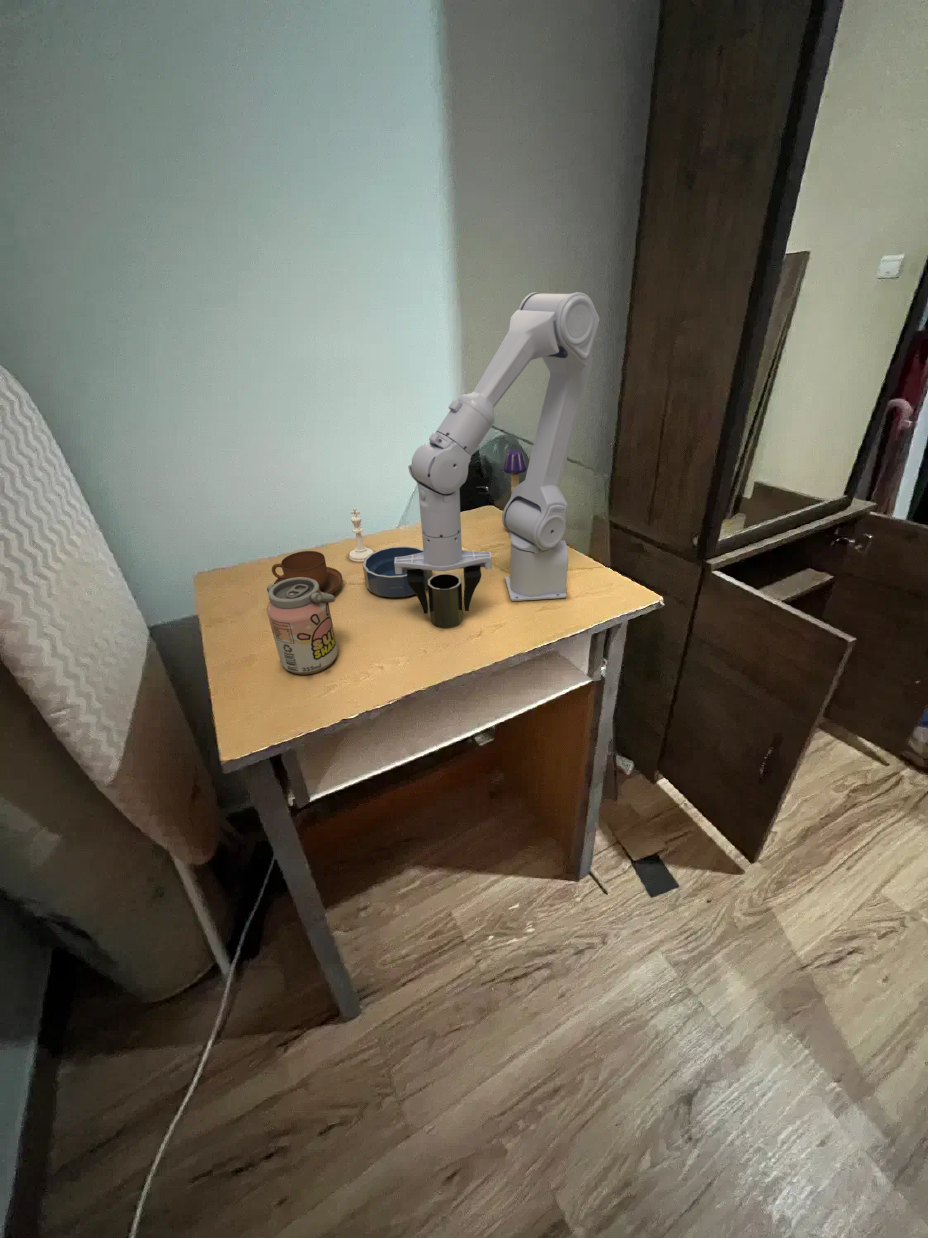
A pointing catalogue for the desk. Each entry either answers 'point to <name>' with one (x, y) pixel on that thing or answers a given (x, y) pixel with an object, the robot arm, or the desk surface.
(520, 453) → the toy lamp
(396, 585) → the bowl
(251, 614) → the desk surface
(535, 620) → the desk surface
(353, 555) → the chess piece
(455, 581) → the cup
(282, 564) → the cup and saucer
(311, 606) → the beverage can
